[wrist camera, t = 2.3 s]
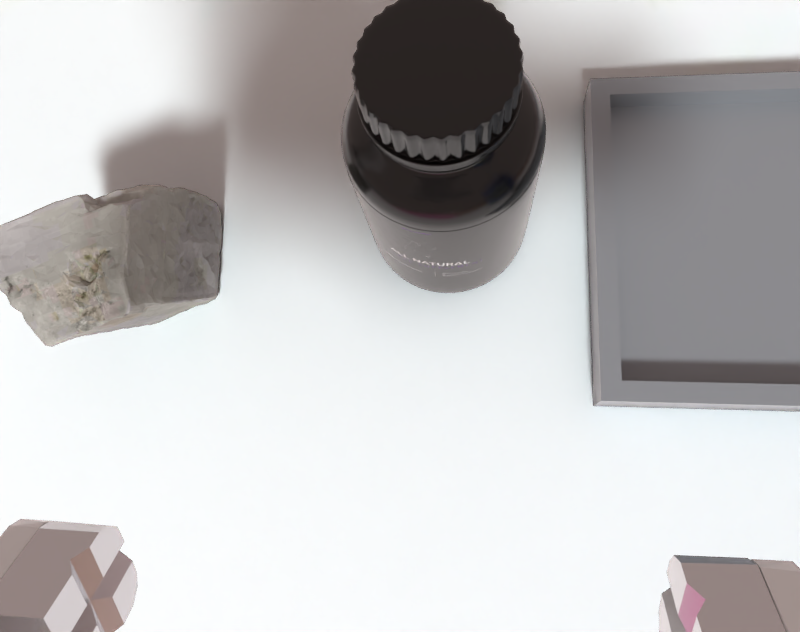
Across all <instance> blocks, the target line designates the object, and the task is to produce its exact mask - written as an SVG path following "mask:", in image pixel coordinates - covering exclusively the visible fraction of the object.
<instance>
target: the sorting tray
mask: <svg viewBox="0 0 800 632" xmlns="http://www.w3.org/2000/svg"><path fill="white" fill-rule="evenodd" d="M584 121H585V153H586V185H587V217H588V250H589V282H590V314H591V346H592V378H593V406H615V407H653V408H690V409H728V410H766V411H800V71H796V72H768V73H740V74H712V75H684V76H656V77H628V78H600V79H590V81H589V85H588V89H587V92H586V96H585V100H584Z"/></svg>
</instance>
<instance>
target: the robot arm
mask: <svg viewBox="0 0 800 632" xmlns="http://www.w3.org/2000/svg"><path fill="white" fill-rule="evenodd" d="M123 543H124V539H123V537H122V535H121V533H120V531H119V529H118V527H116V526H106V525H94V524H82V523H70V522H58V521H44V520H29V519H20V520H18V521H17V522H15V523H13V524H12V525H10V526H9V527H8V528H7V529H6V530H5V532H4V533H3V534H2V535H1V537H0V632H114V631H116V630H117V629H118V628H119V627H121V626H122V625H123V624H124V623H125V621H126V619H127V617H128V615H129V613H130V611H131V609H132V607H133V604H134V599H135V595H136V591H137V586H138V585H137V572H136V569H135V566H134V564H133V561H132V560H131V559H129V558H128V557H127V556H126V555H124V554H123V553H122V552H121V551H119V550H120V548H121V546H122V545H123ZM667 576H668V579H669V583H670V587H671V588H669V589H668V590H666V591H665V592H663V593H662V596H661V601H660V606H659V632H800V568H799V567H798V566H797V565H796V564H795V563H794V562H792V561H776V560H757V559H752V560H750V559H748V558H731V557H706V556H682V555H674V556H673V557H672V558H671V559H670V561H669V565H668V569H667Z"/></svg>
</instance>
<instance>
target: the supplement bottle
mask: <svg viewBox="0 0 800 632" xmlns="http://www.w3.org/2000/svg"><path fill="white" fill-rule="evenodd" d="M353 62H354V66H353V69H352V77H353V80H354V91H353V93H352V95H351V97H350V99H349V101H348V104H347V107H346V110H345V113H344V117H343V122H342V130H341V145H342V152H343V157H344V161H345V165H346V168H347V172H348V174H349V177H350V179H351V182H352V184H353V187H354V189H355V192H356V194H357V197H358V199H359V202H360V204H361V207H362V209H363V212H364V214H365V217H366V219H367V222H368V225H369V227H370V230H371V232H372V235H373V237H374V239H375V242H376V244H377V246H378V248H379V251H380V253H381V254H382V256H383V258H384V259H385V261H386V262H387V264H388V265H389V266H390V267H391V268H392V269H393V271H395V272H396V273H397V274H398V275H399V276H400V277H401V278H403V279H404V280H406V281H407V282H409V283H411V284H413V285H415V286H417V287H419V288H422V289H425V290H429V291H434V292H441V293H455V292H463V291H467V290H471V289H474V288H477V287H479V286H482V285H484V284H486V283H488V282H490V281H491V280H493V279H494V278H496V277H497V276H498V275H499V274H501V273H502V272H503V271H504V270H505V269H506V268H507V267H508V265H509V264H510V263H511V262H512V260H513V259H514V257H515V256H516V254H517V252H518V250H519V248H520V246H521V244H522V241H523V238H524V235H525V231H526V228H527V224H528V219H529V215H530V211H531V206H532V202H533V198H534V193H535V189H536V185H537V180H538V176H539V171H540V167H541V163H542V158H543V153H544V147H545V137H546V122H545V115H544V110H543V106H542V103H541V100H540V97H539V95H538V93H537V91H536V89H535V87H534V85H533V83H532V82H531V81H530V79H529V78H528V76H527V75H526V74H525V73H524V71H523V67H522V66H523V52H522V50H521V49H520V39H519V37H518V36H517V35H516V34H515V33H514V26H513V25H512V24H511V23H510V22H508V21H507V20H506V17H505V14H504V13H502V12H500V11H498V10H496V8H495V7H494V5H493V4H491V3H487V2H484V1H483V0H398V1H397V2H396V3H395V4H393V5H390V6H387V7H386V8H385V9H384V11H383V12H382V13H381V14H379V15H377V16H375V17H374V19H373V21H372V23H371V24H370V25H369V26H367V27H366V28H365V29H364V33H363V37H362V38H361V39H360V40H359V41H358V42H357V51H356V52H355V54H354V56H353Z"/></svg>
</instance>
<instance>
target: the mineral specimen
mask: <svg viewBox="0 0 800 632" xmlns="http://www.w3.org/2000/svg"><path fill="white" fill-rule="evenodd" d="M221 245H222V226H221V212H220V210H219V208H218V205H217V203H216V202H214V201H212V200H211V199H209V198H208V197H207V196H204V195H202V194H199V193H197V192H194V191H190V190H187V189H185V188H167V187H165V186H162V185H139V186H136V187H133V188H128V189H124V190H116V191H113V192H111V193H109V194H107V195H106V196H101V197H98V198H96V199H93V198H92V197H91V196H89V195H88V194H85V195H78V196H73V197H70V198H67V199H64V200H61V201H56V202H54V203H51V204H49V205H47V206H45V207H42V208H40V209H37V210H35V211H33V212H32V213H30V214H27V215H25V216H22V217H20V218H18V219H15V220H13V221H10V222H8V223H5V224H3V225H0V290H1V291H2V292H3V293H4V294H6V295H7V297H8V300H9V302H10V304H11V306H13V307H14V308H15V309H16V310H18V311H20V312H22V314H23V317H24V319H25V321H26V323H27V324H28V325H29V326H30V327H31V329H32V330H33V331H34V333H35V334H36V335H37V336H38V337H39V339H40V340H41V341H42V342H43V343H44V344H45V346H51V347H52V346H54V345H57V344H59V343H62V342H65V341H67V340H70V339H73V338H76V337H80V336H84V335H92V334H97V333H102V332H111V331H114V330H119V329H123V328H127V329H128V328H132V327H139V326H144V325H152V324H156V323H159V322H161V321H164V320H166V319H168V318H170V317H172V316H174V315H176V314H178V313H181V312H183V311H186V310H188V309H190V308H192V307H195V306H198V305H202V304H207V303H208V302H210V301H212V300H214V299H216V297H217V295H218V284H219V279H218V276H219V273H220V271H219V267H220V256H219V253H220V251H221Z"/></svg>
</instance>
